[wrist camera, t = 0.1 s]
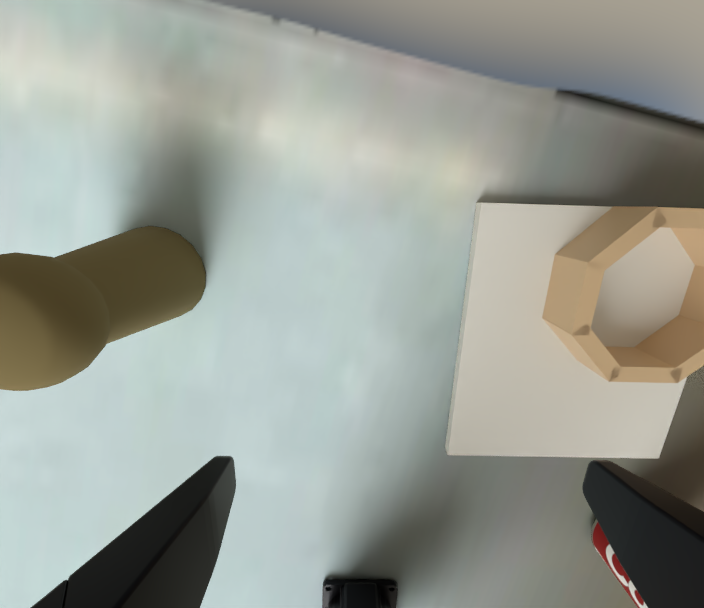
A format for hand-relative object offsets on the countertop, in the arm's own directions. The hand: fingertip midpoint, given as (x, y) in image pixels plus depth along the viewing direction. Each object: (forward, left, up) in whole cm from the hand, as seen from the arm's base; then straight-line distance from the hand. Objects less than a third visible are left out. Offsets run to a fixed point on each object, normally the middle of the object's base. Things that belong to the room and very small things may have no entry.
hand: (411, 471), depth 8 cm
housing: (-2, -14, -15) cm, 20 cm away
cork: (+2, +14, -15) cm, 20 cm away
